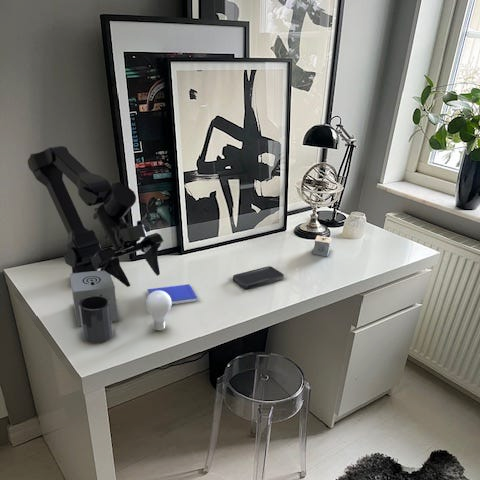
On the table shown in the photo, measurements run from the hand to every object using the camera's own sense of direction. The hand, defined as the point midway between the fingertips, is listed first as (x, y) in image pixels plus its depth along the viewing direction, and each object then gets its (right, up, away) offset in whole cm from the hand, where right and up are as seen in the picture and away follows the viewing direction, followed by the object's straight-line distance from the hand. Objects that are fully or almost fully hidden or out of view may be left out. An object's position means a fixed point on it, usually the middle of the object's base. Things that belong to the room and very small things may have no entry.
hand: (144, 280), depth 125 cm
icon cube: (-14, -8, +8) cm, 18 cm away
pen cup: (-11, -14, -1) cm, 18 cm away
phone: (+30, +3, +30) cm, 42 cm away
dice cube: (+53, +14, +50) cm, 74 cm away
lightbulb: (+3, -12, +3) cm, 13 cm away
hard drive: (+5, -4, +17) cm, 18 cm away
